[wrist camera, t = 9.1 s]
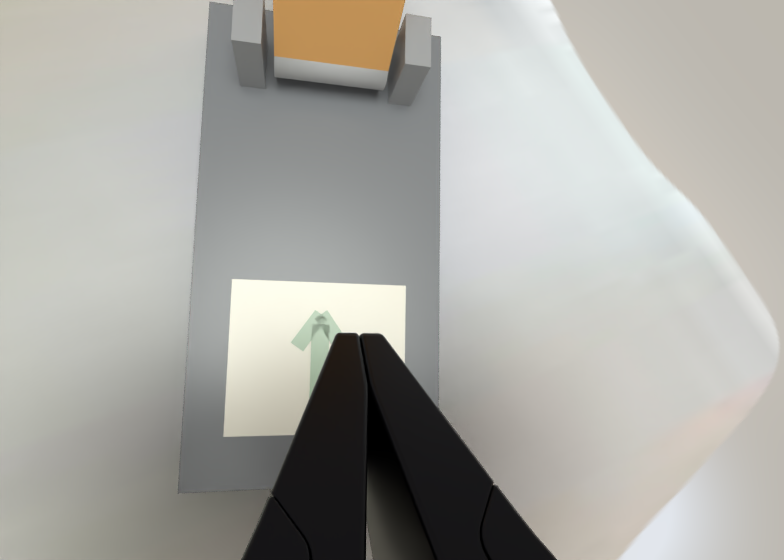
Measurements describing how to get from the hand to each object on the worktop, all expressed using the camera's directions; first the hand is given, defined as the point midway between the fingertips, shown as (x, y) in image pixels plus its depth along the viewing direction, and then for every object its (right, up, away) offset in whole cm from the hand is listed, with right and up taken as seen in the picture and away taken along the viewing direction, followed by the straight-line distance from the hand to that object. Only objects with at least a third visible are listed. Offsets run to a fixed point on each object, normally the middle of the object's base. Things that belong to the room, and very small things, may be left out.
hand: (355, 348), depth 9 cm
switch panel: (-3, +3, +13) cm, 13 cm away
